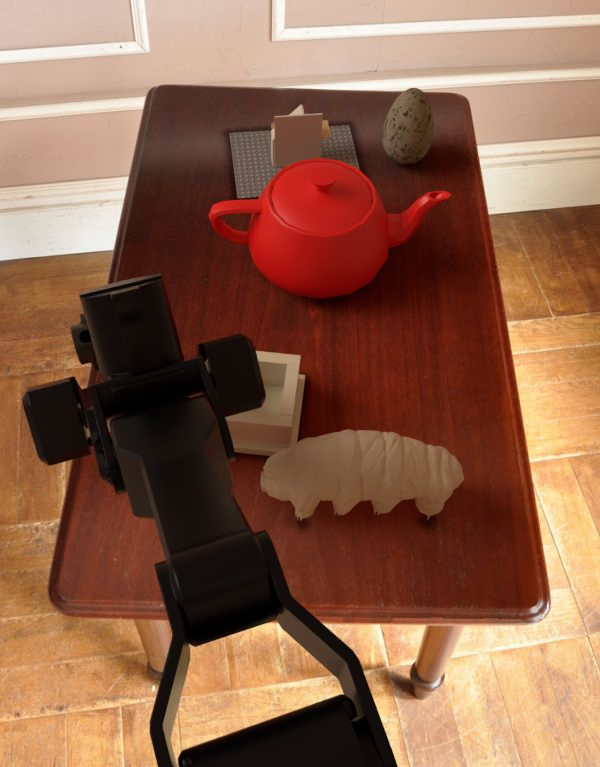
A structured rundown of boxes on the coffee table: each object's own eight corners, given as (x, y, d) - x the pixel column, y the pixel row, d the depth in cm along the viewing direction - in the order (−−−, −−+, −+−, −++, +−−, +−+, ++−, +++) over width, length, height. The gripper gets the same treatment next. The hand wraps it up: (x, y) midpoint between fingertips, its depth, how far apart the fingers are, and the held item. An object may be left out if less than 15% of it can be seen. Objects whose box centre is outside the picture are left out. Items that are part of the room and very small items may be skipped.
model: (261, 468, 81) (260, 413, 72) (449, 469, 81) (469, 414, 73) (260, 533, 77) (258, 483, 69) (457, 534, 77) (479, 484, 69)
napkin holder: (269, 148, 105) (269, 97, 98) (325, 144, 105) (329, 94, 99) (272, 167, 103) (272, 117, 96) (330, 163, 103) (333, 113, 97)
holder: (295, 458, 81) (296, 432, 77) (201, 448, 82) (197, 421, 77) (305, 380, 86) (306, 351, 82) (216, 371, 86) (213, 341, 82)
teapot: (211, 315, 90) (203, 234, 80) (213, 208, 99) (206, 123, 89) (446, 310, 91) (468, 231, 81) (428, 205, 100) (445, 121, 90)
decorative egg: (387, 179, 102) (397, 111, 94) (372, 146, 105) (381, 77, 97) (434, 172, 103) (449, 103, 95) (418, 139, 106) (431, 70, 98)
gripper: (253, 279, 63) (219, 268, 77) (-8, 343, 59) (9, 318, 74) (285, 422, 65) (246, 385, 80) (38, 492, 61) (46, 439, 76)
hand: (140, 380), depth 77 cm, fingers open, 9 cm apart
